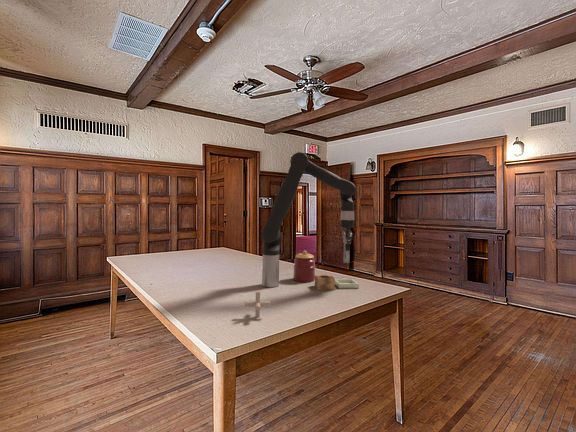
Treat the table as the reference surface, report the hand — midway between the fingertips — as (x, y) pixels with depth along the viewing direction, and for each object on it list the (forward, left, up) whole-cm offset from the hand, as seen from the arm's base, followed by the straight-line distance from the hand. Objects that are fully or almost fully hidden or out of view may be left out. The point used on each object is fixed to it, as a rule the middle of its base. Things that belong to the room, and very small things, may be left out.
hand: (346, 249), depth 169 cm
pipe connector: (-50, -44, -20) cm, 70 cm away
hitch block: (-13, -3, -20) cm, 24 cm away
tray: (0, 0, -20) cm, 20 cm away
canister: (-21, +15, -21) cm, 33 cm away
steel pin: (0, 0, -7) cm, 7 cm away
